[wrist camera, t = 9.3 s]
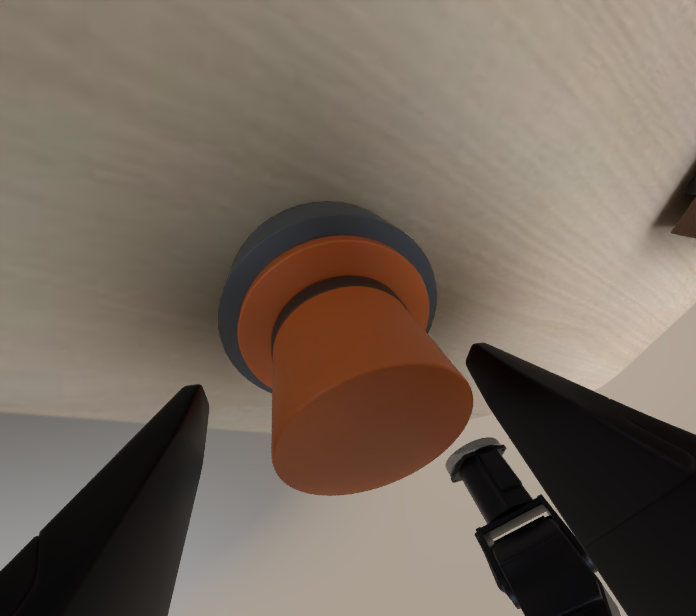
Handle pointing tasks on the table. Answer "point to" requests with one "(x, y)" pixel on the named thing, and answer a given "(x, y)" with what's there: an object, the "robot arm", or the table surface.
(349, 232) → the stand
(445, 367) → the orange top hat
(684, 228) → the brown lidded box
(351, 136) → the table surface
